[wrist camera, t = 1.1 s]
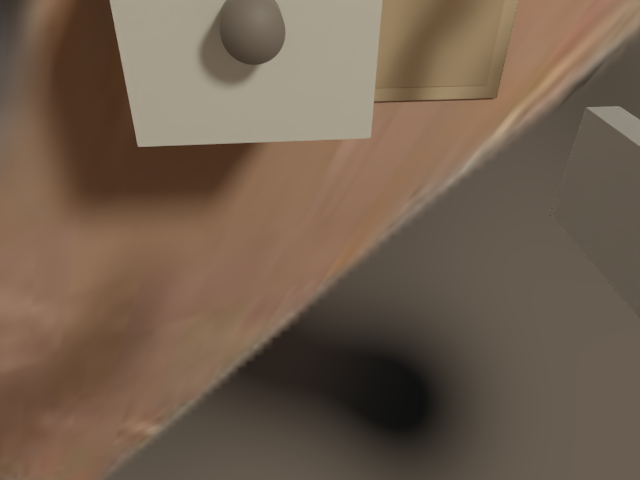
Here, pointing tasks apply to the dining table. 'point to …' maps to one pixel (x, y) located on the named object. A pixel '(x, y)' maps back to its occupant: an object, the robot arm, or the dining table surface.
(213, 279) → the dining table surface
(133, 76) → the cover
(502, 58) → the tray
